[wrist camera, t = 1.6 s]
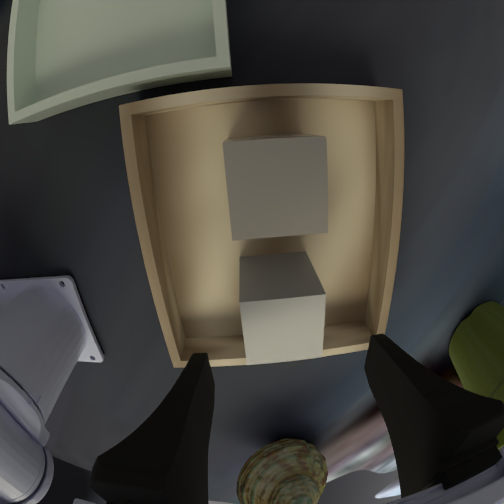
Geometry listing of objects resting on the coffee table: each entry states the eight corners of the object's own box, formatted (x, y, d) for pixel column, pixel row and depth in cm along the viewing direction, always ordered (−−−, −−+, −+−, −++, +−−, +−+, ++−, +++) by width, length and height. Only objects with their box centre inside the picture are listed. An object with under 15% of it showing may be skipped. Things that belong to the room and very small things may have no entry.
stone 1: (234, 208, 17) (232, 240, 13) (227, 137, 16) (222, 142, 11) (304, 202, 17) (327, 232, 13) (301, 133, 16) (326, 136, 11)
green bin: (36, 121, 15) (8, 124, 12) (41, -23, 10) (19, -34, 7) (232, 76, 15) (230, 66, 12) (220, -76, 10) (217, -100, 7)
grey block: (245, 312, 20) (246, 365, 15) (239, 256, 18) (239, 302, 14) (305, 306, 20) (321, 356, 15) (305, 251, 18) (326, 294, 14)
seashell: (219, 465, 30) (217, 536, 21) (254, 418, 26) (260, 512, 17) (297, 473, 32) (306, 537, 23) (346, 430, 28) (368, 507, 18)
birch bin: (180, 339, 22) (173, 367, 19) (138, 107, 15) (118, 105, 12) (367, 321, 22) (381, 346, 19) (378, 93, 15) (402, 89, 12)
